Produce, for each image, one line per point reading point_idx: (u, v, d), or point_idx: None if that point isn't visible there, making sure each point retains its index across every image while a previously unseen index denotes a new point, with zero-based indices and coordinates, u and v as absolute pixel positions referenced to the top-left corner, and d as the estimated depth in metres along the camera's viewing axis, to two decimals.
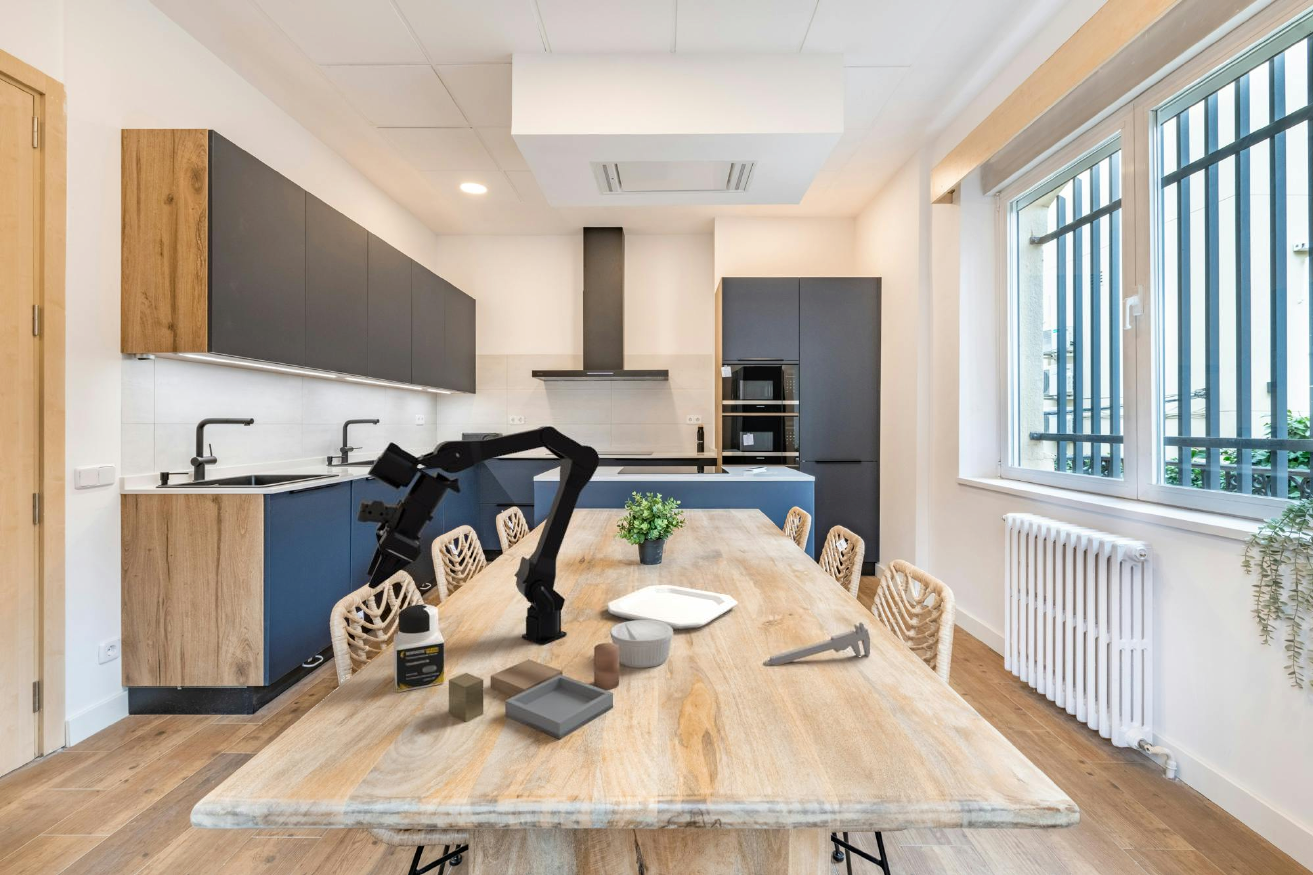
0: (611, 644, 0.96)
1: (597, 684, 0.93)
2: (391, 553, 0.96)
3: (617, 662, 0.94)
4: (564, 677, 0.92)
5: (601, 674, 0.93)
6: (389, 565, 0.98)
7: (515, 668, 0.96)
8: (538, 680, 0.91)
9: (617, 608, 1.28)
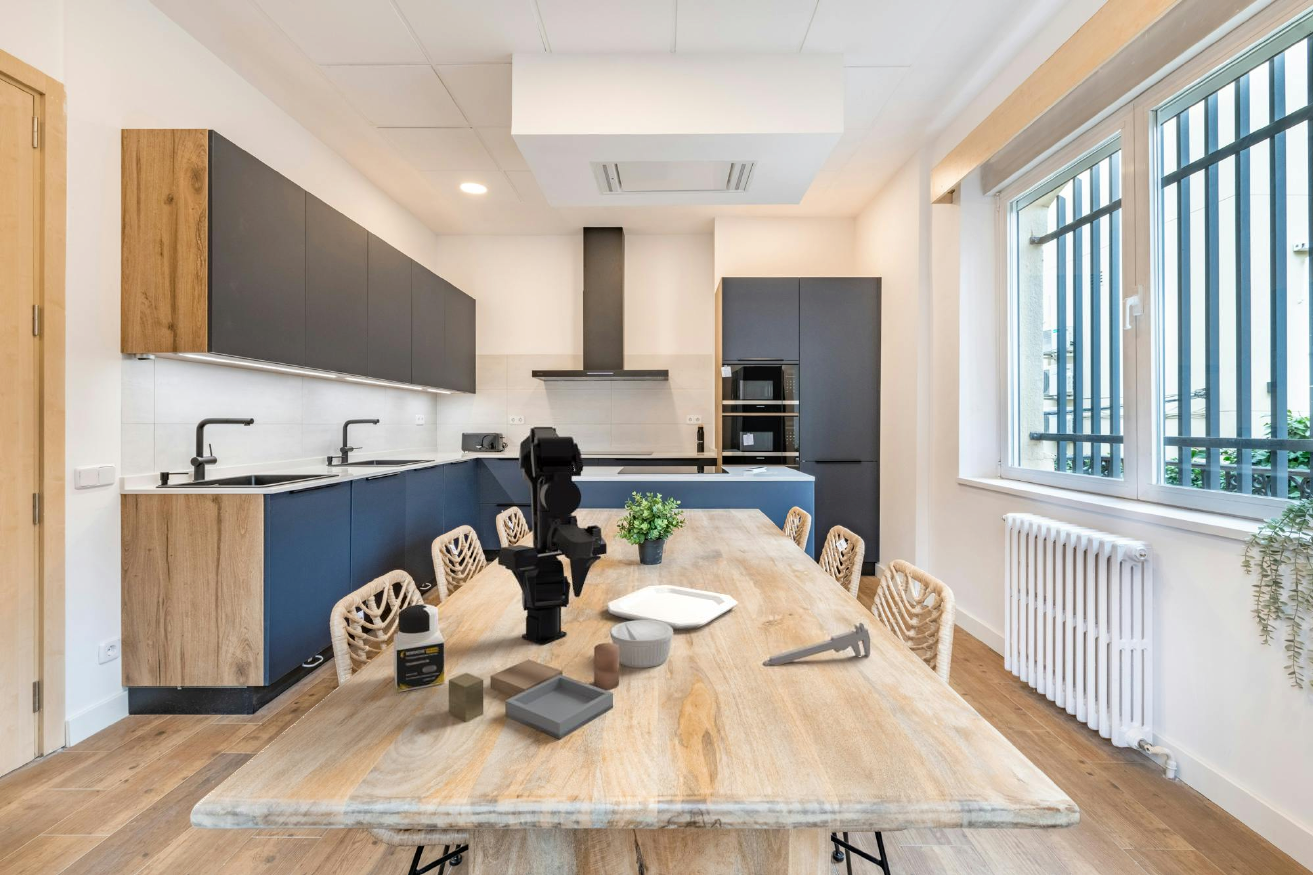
0: (611, 644, 0.96)
1: (597, 684, 0.93)
2: None
3: (617, 662, 0.94)
4: (564, 677, 0.92)
5: (601, 674, 0.93)
6: None
7: (515, 668, 0.96)
8: (538, 680, 0.91)
9: (617, 608, 1.28)
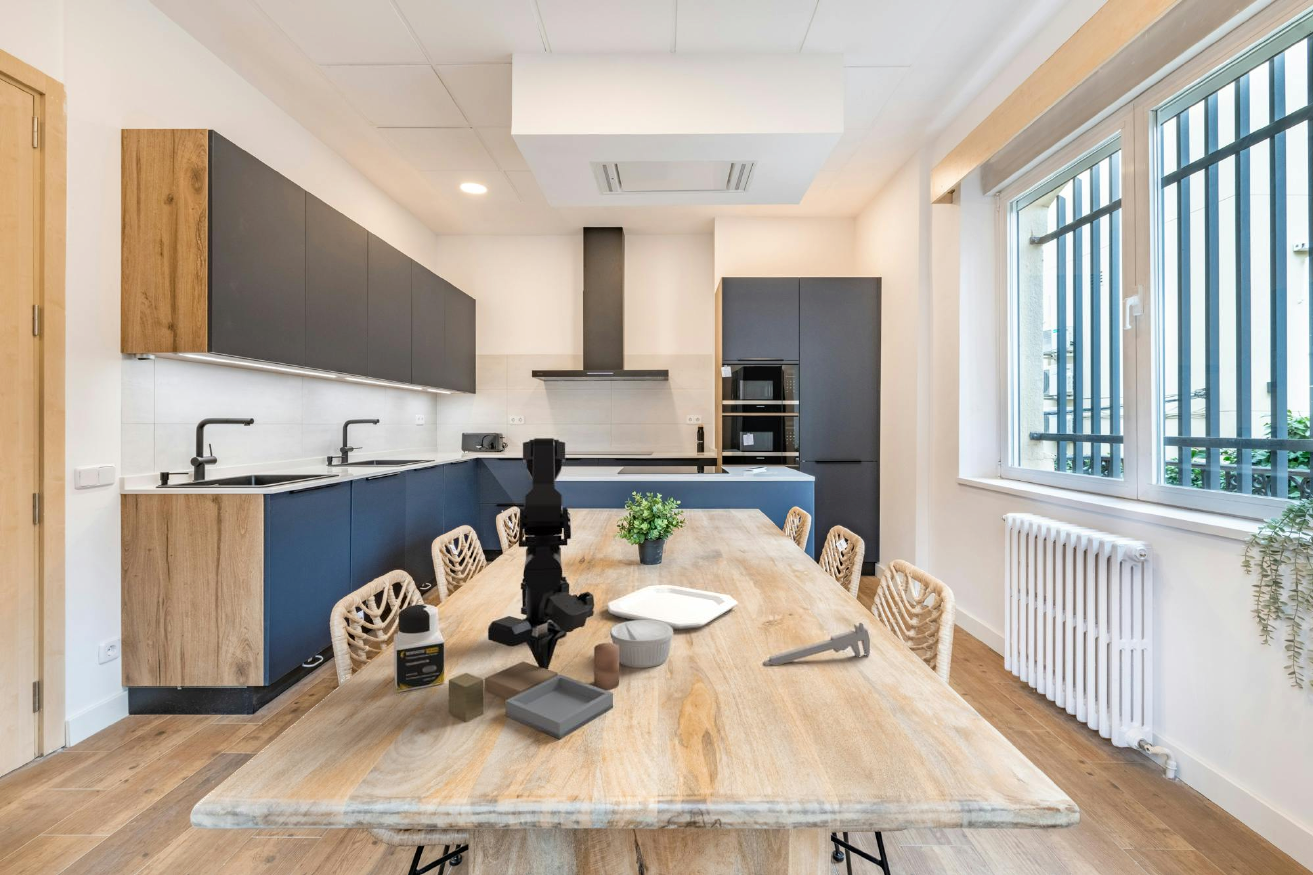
0: (611, 644, 0.96)
1: (597, 684, 0.93)
2: None
3: (617, 662, 0.94)
4: (564, 677, 0.92)
5: (601, 674, 0.93)
6: None
7: (509, 671, 0.95)
8: (533, 682, 0.90)
9: (617, 608, 1.28)
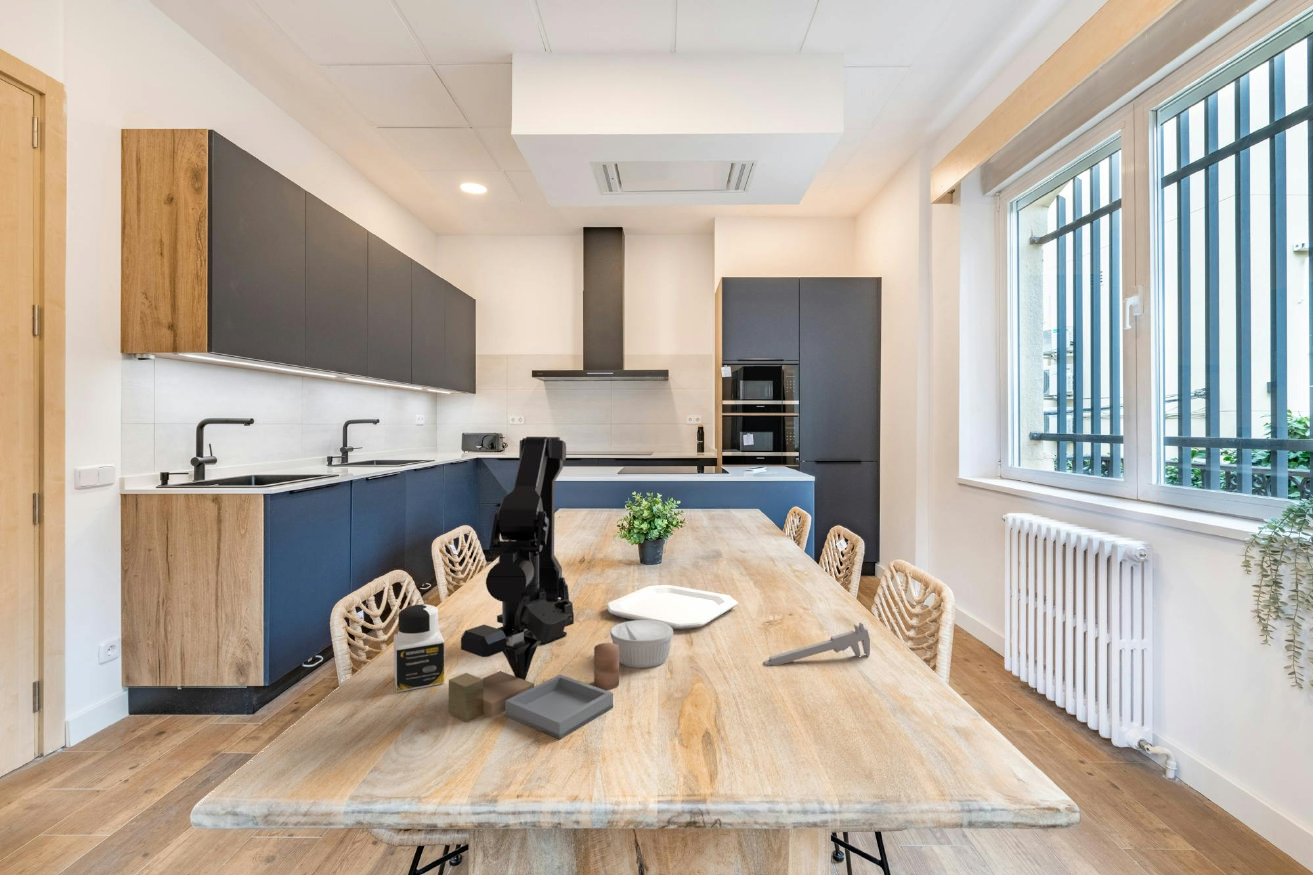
0: (611, 644, 0.96)
1: (597, 684, 0.93)
2: None
3: (617, 662, 0.94)
4: (564, 677, 0.92)
5: (601, 674, 0.93)
6: None
7: (484, 681, 0.91)
8: (507, 694, 0.86)
9: (617, 608, 1.28)
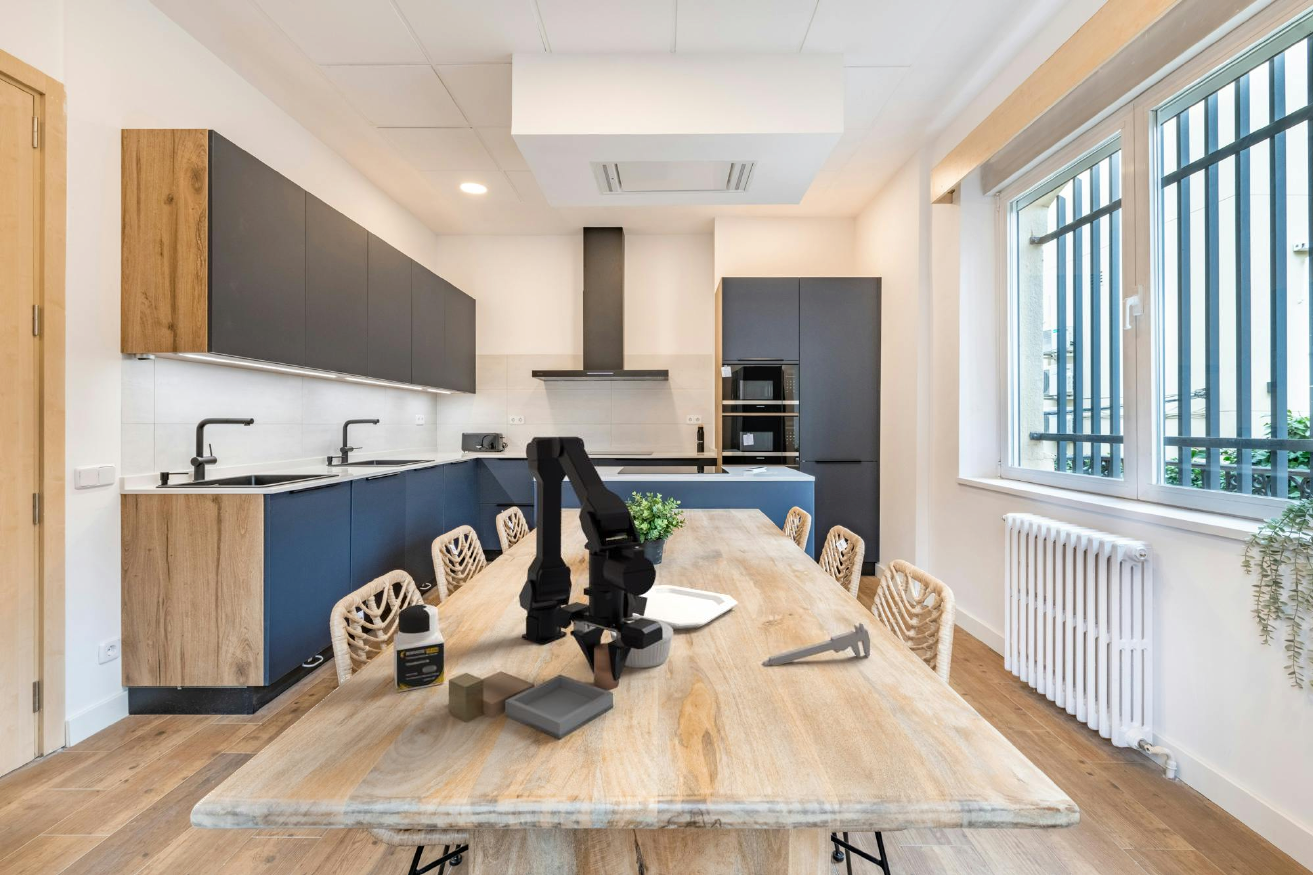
0: None
1: (597, 684, 0.93)
2: None
3: None
4: (564, 677, 0.92)
5: (601, 674, 0.93)
6: None
7: (485, 681, 0.91)
8: (507, 694, 0.86)
9: None
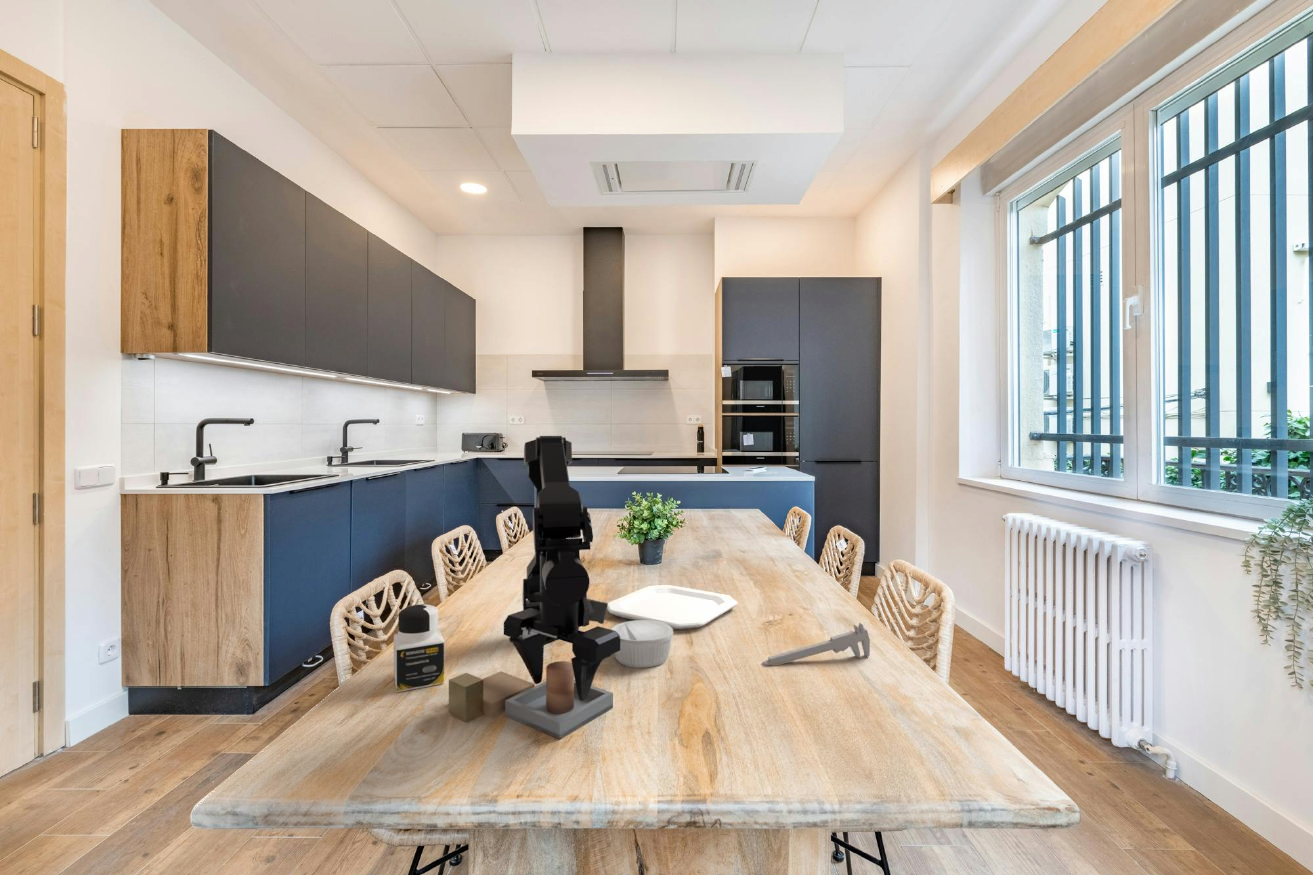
0: (566, 663, 0.87)
1: (548, 708, 0.84)
2: None
3: (571, 683, 0.85)
4: None
5: (553, 697, 0.84)
6: None
7: (485, 681, 0.91)
8: (507, 694, 0.86)
9: (617, 608, 1.28)
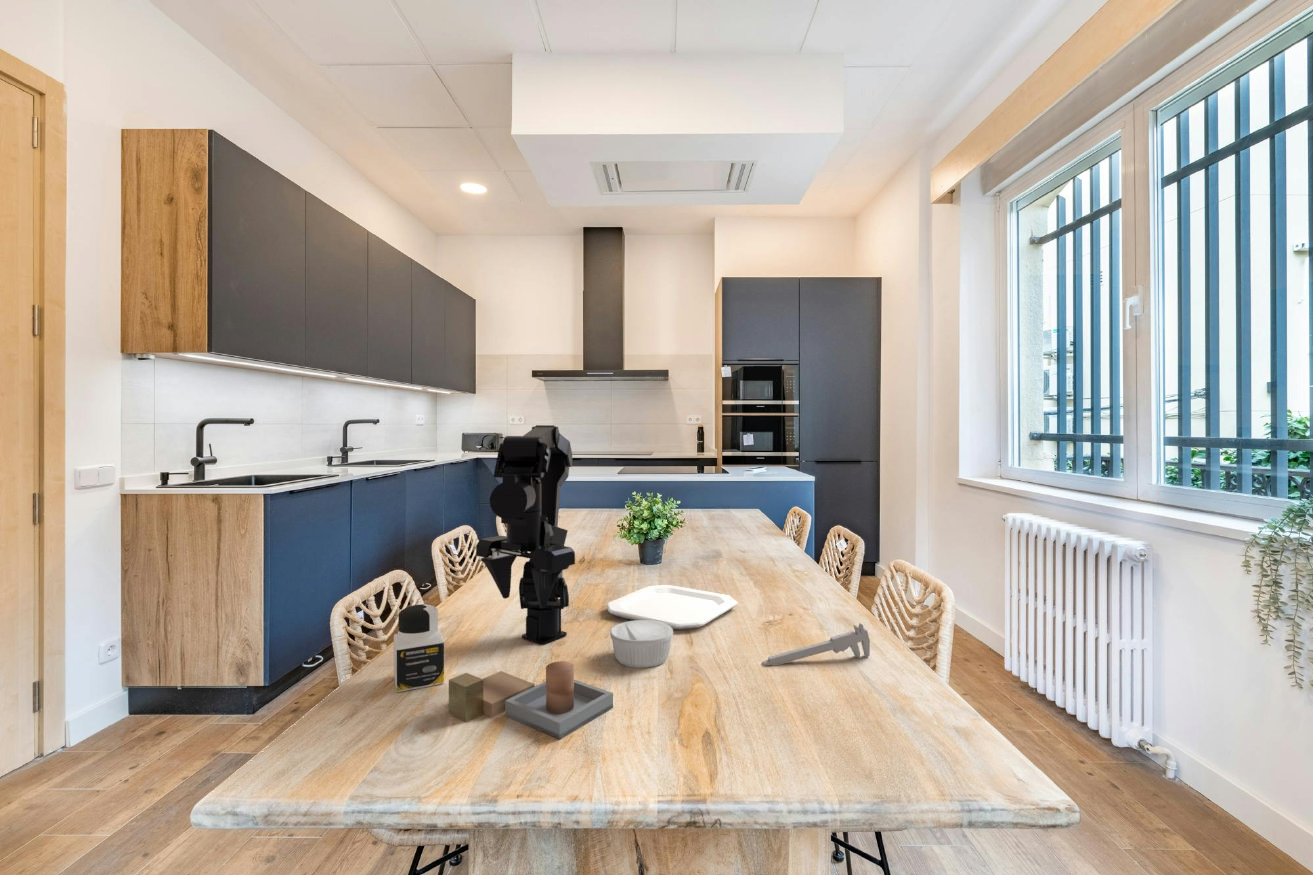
0: (565, 662, 0.87)
1: (548, 708, 0.84)
2: None
3: (571, 683, 0.85)
4: None
5: (553, 697, 0.84)
6: None
7: (485, 681, 0.91)
8: (507, 694, 0.86)
9: (617, 608, 1.28)
